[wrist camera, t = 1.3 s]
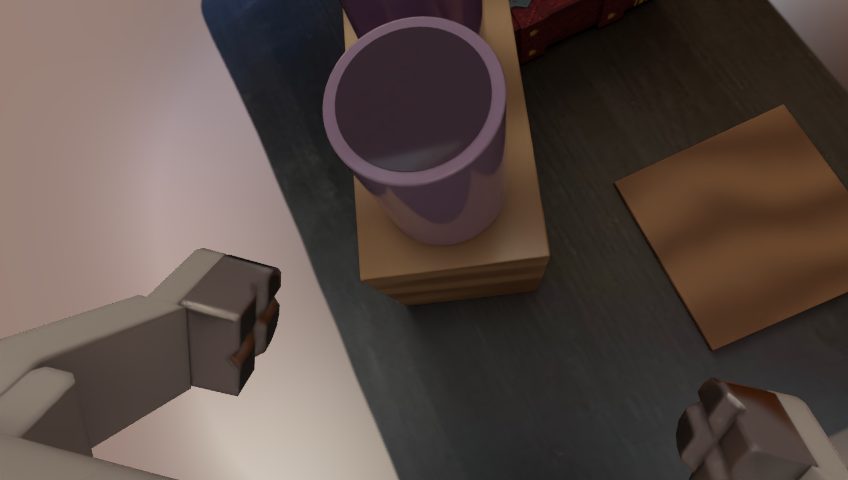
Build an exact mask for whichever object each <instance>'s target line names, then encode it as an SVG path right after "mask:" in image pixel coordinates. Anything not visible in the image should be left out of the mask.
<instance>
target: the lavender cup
mask: <svg viewBox="0 0 848 480" xmlns="http://www.w3.org/2000/svg"><path fill="white" fill-rule="evenodd" d="M323 121H324V126H325V130H326V134H327V137H328V139H329V141H330V143H331V145H332V147H333V149H334V150H335V152H336V153H337V155H338V156H339V158H340V159H341V160H342V161H343V162H344V164H345V165H346V166H347V167H348V168H349V170H350V171H351V172H352V173H353V175H354V176H355V177H356V178H357V179H358V181H359V182H360V183H361V184H362V185H363V187H364V188H365V189H366V190H367V192H368V193H369V194H370V195H371V196H372V198H373V199H374V200H375V201H376V202H377V204H378V205H379V206H380V207H381V209H382V210H383V211H384V212H385V213H386V215H387V216H388V217H389V218H390V219H391V221H392V222H393V223H394V224H395V225H396V226H397V227H398V228H399V230H401V231H402V232H403V233H404V234H406V235H407V236H409V237H411V238H412V239H414V240H417V241H419V242H422V243H425V244H429V245H436V246H446V245H454V244H458V243H462V242H465V241H467V240H470V239H472V238H474V237H476V236H477V235H479V234H480V233H482V232H483V231H484V230H486V229H487V228H488V227H489V226H490V225H491V224H492V223H493V221H494V220H495V219H496V218H497V216H498V214H499V213H500V211H501V209H502V207H503V205H504V202H505V199H506V196H507V189H508V149H507V89H506V81H505V76H504V73H503V69H502V66H501V64H500V62H499V60H498V58H497V56H496V55H495V53H494V52H493V50H492V49H491V47H490V46H489V45H488V44H487V43H486V42H485V41H484V40H483V39H482V38H481V37H480V36H479V35H477V34H476V33H475V32H473V31H472V30H470V29H469V28H467V27H465V26H463V25H461V24H459V23H456V22H454V21H450V20H447V19H443V18H437V17H425V16H420V17H409V18H403V19H398V20H395V21H392V22H388V23H386V24H384V25H381V26H379V27H377V28H375V29H373V30H372V31H370V32H368V33H366V34H365V35H364V36H362V37H361V38H359V39H358V40H357V41H356V42H355V43H354V44H353V45H351V46H350V47H349V48H348V50H347V51H346V52H345V53H344V54H343V55H342V56H341V58H340V59H339V61H338V62H337V64H336V65H335V67H334V69H333V71H332V73H331V75H330V77H329V80H328V82H327V85H326V89H325V93H324V99H323Z"/></svg>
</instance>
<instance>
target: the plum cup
mask: <svg viewBox="0 0 848 480" xmlns="http://www.w3.org/2000/svg"><path fill="white" fill-rule="evenodd" d="M339 1H340V3H341V5H342V7H343V9H344V12H345V14H346V16H347V18H348V20H349V22H350V24H351V26H352V29H353V31H354V33H355V35H356V37H357V39H359V38H361V37H362V36H364V35H365V34H366V33H368V32H370V31H372V30H373V29H375V28H377V27H379V26H381V25H384V24H386V23H388V22H392V21H395V20H398V19H403V18H409V17H420V16H425V17H437V18H443V19H447V20H450V21H454V22H456V23H459V24H461V25H463V26H465V27H467V28H469V29H470V30H472V31H473V32H475V33H476V34H477V35H479V36H480V37H481V38H482V39H483V40H484V41H485V42H486V43H487V33H486V19H485V5H484V0H339Z"/></svg>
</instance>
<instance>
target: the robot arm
mask: <svg viewBox="0 0 848 480" xmlns="http://www.w3.org/2000/svg"><path fill="white" fill-rule="evenodd" d="M280 287H281V272H280V270H279V269H278V268H276V267H272V266H268V265H265V264H261V263H257V262H254V261H250V260H246V259H243V258H239V257H236V256H232V255H226V254H224V253H219V252H216V251H212V250H208V249H205V248H202V249H198V250H196V251H194V252H193V253H192V254H191V255H190V256H189V257H188V258H187V259H186V260H185V261H184V262H183V263H182V264H181V265H180V266H179V267H178V268H177V269H176V270H175V271H173V273H171V274H170V275H169V276H168V277H167V278H166V279H165V280H164V281H163V282H162V283H161V284H160V285H159V286H158V287H157V288H156V289H155V290H154V291H153V292H152V293H151V294H149V295H148V297H145V296H141V295H137V296H134V297H131V298H128V299H125V300H122V301H119V302H115V303H112V304H109V305H106V306H103V307H100V308H97V309H94V310H91V311H87V312H84V313H81V314H78V315H75V316H72V317H69V318H65V319H62V320H59V321H56V322H53V323H50V324H47V325H43V326H40V327H37V328H34V329H31V330H28V331H25V332H22V333H18V334H15V335H12V336H9V337H6V338H3V339H0V480H177V479H173V478H169V477H165V476H161V475H158V474H153V473H150V472H146V471H142V470H139V469H135V468H131V467H127V466H124V465H119V464H116V463H112V462H109V461H104V460H101V459H97V458H93V454H92V450H91V448H93V447H94V446H96V445H98V444H99V443H101V442H102V441H104V440H106V439H108V438H109V437H111V436H113V435H114V434H116V433H118V432H119V431H121V430H122V429H124V428H126V427H128V426H129V425H131V424H133V423H134V422H136V421H138V420H139V419H141V418H142V417H144V416H146V415H147V414H149V413H151V412H152V411H154V410H156V409H157V408H159V407H161V406H162V405H164V404H166V403H167V402H169V401H170V400H172V399H174V398H176V397H177V396H179V395H180V394H182V393H184V392H186V391H187V390H189V389H191V386H195V387H199V388H204V389H209V390H212V391H217V392H221V393H226V394H230V395H235V396H238V395H239V393H240V392H241V390H242V388H243V387H244V385H245V383H246V382H247V380H248V378H249V377H250V375H251V374H252V372H253V371H254V364H255V356H258V355H260V354H261V353H264V352H265V351H266V349H267V347H268V345H269V344H270V342H271V340H272V337H273V335H274V332H275V329H276V326H277V322H278V317H279V306H280V305H279V303H278V302H277V300H276V299H275V297H274V296H275V294H276V293H277V291H278V290H279V288H280ZM698 394H699V398H700V402H699V403H697V404H694V405H692V406H690V407H688V408H686V410H685V411H684V413H683V414H682V416H681V418H680V419H679V422H678V427H677V432H676V441H677V448H678V451H679V455H680V458H681V459H682V460H683V462H684V463H685V464H686V465H687V466H688V467H689V468H690V469H691V470H692V471H693V472H692V474H691V476H690V478H689V480H848V468H847V466H846V465H845V463H844V462H843V460H842V459H841V457H840V456H839V454H838V453H837V451H836V449H835V448H834V446H833V445H832V443H831V442H830V440H829V439H828V437H827V435H826V434H825V432H824V431H823V429H822V428H821V426H820V425H819V423H818V422H817V420H816V419H815V417H814V415H813V414H812V412H811V411H810V409H809V408H808V406H807V405H806V403H804V402H803V401H802V400H801V399H799V398H798V397H795V396H791V395H787V394H782V393H778V392H773V391H769V390H768V391H765V390H761V389H757V388H753V387H749V386H745V385H741V384H737V383H733V382H729V381H725V380H721V379H717V378H711V379H709V380H707V381H706V382H704V384H703V385H702V386H701V388H700V389H699V391H698Z"/></svg>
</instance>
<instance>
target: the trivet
mask: <svg viewBox="0 0 848 480" xmlns="http://www.w3.org/2000/svg"><path fill="white" fill-rule="evenodd" d="M614 186H615V188H616V189H617V191H618V193H619V194H620V196H621V198H622V199H623V201H624V203H625V205H626V206H627V208H628V210H629V211H630V213H631V215H632V217H633V218H634V220H635V222H636V223H637V225H638V227H639V229H640V230H641V232H642V234H643V235H644V237H645V239H646V240H647V242H648V244H649V246H650V247H651V249H652V251H653V252H654V254H655V256H656V258H657V259H658V261H659V263H660V264H661V266H662V268H663V270H664V271H665V273H666V275H667V276H668V278H669V280H670V281H671V283H672V285H673V287H674V288H675V290H676V292H677V293H678V295H679V297H680V299H681V300H682V302H683V304H684V305H685V307H686V309H687V310H688V312H689V314H690V316H691V317H692V319H693V321H694V322H695V324H696V326H697V328H698V329H699V331H700V333H701V334H702V336H703V338H704V340H705V341H706V343H707V345H708V346H709V348H710V350H711V351H714V350H716V349H718V348H721V347H723V346H725V345H727V344H730V343H732V342H734V341H737V340H739V339H741V338H743V337H746V336H748V335H750V334H753V333H755V332H757V331H759V330H762V329H764V328H766V327H769V326H771V325H773V324H776V323H778V322H780V321H782V320H785V319H787V318H789V317H792V316H794V315H796V314H798V313H801V312H803V311H805V310H808V309H810V308H812V307H814V306H817V305H819V304H821V303H824V302H826V301H828V300H830V299H833V298H835V297H837V296H840V295H842V294H844V293H847V292H848V191H847V190H846V189H845V187H844V186H843V184H842V183H841V182H840V180H839V179H838V178H837V176H836V175H835V174H834V172H833V171H832V169H831V168H830V167H829V165H828V164H827V163H826V161H825V160H824V159H823V157H822V156H821V155H820V153H819V152H818V150H817V149H816V148H815V146H814V145H813V144H812V142H811V141H810V140H809V138H808V137H807V135H806V134H805V133H804V131H803V130H802V129H801V127H800V126H799V125H798V123H797V122H796V121H795V119H794V118H793V116H792V115H791V114H790V112H789V111H788V110H787V108H786V107H785V106H784V105H781V106H779V107H777V108H774V109H772V110H770V111H768V112H766V113H764V114H761V115H759V116H757V117H755V118H753V119H750V120H748V121H746V122H744V123H742V124H740V125H737V126H735V127H733V128H731V129H729V130H727V131H724V132H722V133H720V134H718V135H716V136H714V137H711V138H709V139H707V140H705V141H703V142H700V143H698V144H696V145H694V146H692V147H690V148H687V149H685V150H683V151H681V152H679V153H677V154H674V155H672V156H670V157H668V158H666V159H663V160H661V161H659V162H657V163H655V164H653V165H650V166H648V167H646V168H644V169H642V170H640V171H637V172H635V173H633V174H631V175H629V176H627V177H624V178H622V179H620V180H618V181H616V182H614Z"/></svg>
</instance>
